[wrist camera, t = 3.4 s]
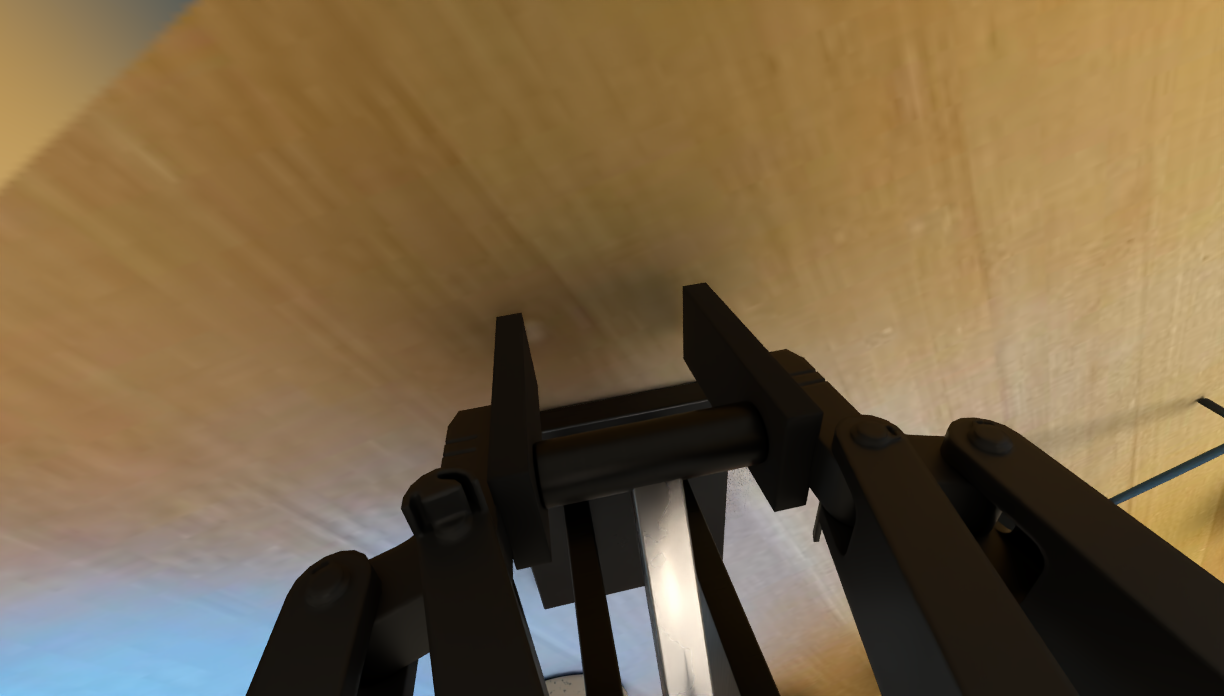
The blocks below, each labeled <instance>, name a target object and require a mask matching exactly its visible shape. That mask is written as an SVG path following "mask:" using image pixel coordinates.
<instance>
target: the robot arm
mask: <svg viewBox="0 0 1224 696" xmlns="http://www.w3.org/2000/svg"><path fill="white" fill-rule="evenodd" d="M683 359H684V360H685V362H686V364H687V365H688V367H689V369H690V370H691V372H692V374H693V376H694V377H695V379H696V381H697V382H698V384H699V386H700V387H701V389H702V391H703V392H704V394H705V396H706V397H707V399H708V401H709V403H710V404H711V406H712V407H716V406H721V405H726V404H731V403H736V402H741V401H748V402H751V403H752V404H753V405H754V406H755V407H756V408H757V410H758V411H759V413H760V415H761V417H762V420H763V422H764V425H765V428H766V432H767V438H768V456H767V459H766V460H765V461H764V462H763V463H761V464H757V465H752V466H747V467H748V468H749V470H750V472H751V473H752V475H753V477H754V478H755V480H756V482H757V484H758V485H759V487H760V489H761V490H762V492H763V494H764V495H765V497H766V499H767V500H768V502H769V504H770V505H771V507H772V509H773V511H774V512H777V511H781V510H786V509H790V508H795V507H799V506H803V505H806V501H807V496H808V491H809V487H810V488H811V490H812V491H813V493H814V494H815V495H816V497H817V498H818V500H819V501H820V502H819V506H818V511H817V516H816V520H815V525H814V530H813V540H814V542H819V539H820V535H821V530H822V531H823V534H824V536H825V539H826V542H827V545H828V547H829V550H830V553H831V556H832V559H833V561H834V564H835V567H836V570H837V573H838V575H839V578H840V581H841V584H842V586H843V589H844V592H845V595H846V598H847V600H848V603H849V606H850V609H851V611H852V614H853V617H854V620H855V623H856V625H857V628H858V631H859V634H860V636H861V639H862V642H863V645H864V648H865V650H866V653H867V656H868V659H869V661H870V664H871V667H872V670H873V673H874V675H875V678H876V681H877V684H878V687H879V689H880V692H881V695H882V696H1224V583H1222V582H1221V581H1220V580H1218V579H1217V578H1215V577H1214V576H1213V575H1211V574H1210V573H1209V572H1207V571H1206V570H1205V569H1203V568H1202V567H1200V566H1199V565H1198V564H1196V563H1195V562H1194V561H1192V560H1191V559H1189V558H1188V557H1187V556H1185V555H1184V554H1183V553H1181V552H1180V551H1179V550H1177V549H1176V548H1174V547H1173V546H1172V545H1170V544H1169V543H1168V542H1166V541H1165V540H1164V539H1162V538H1161V537H1159V536H1158V535H1157V534H1155V533H1154V532H1153V531H1151V530H1150V529H1149V528H1147V527H1146V526H1144V525H1143V524H1142V523H1140V522H1139V521H1138V520H1136V519H1135V518H1134V517H1132V516H1131V515H1129V514H1128V513H1127V512H1125V511H1124V510H1123V509H1121V508H1120V507H1119V506H1117V505H1116V504H1114V503H1113V502H1112V501H1110V500H1109V499H1108V498H1106V497H1105V496H1104V495H1102V494H1101V493H1099V492H1098V491H1097V490H1095V489H1094V488H1093V487H1091V486H1090V485H1089V484H1087V483H1086V482H1084V481H1083V480H1082V479H1080V478H1079V477H1078V476H1076V475H1075V474H1074V473H1072V472H1071V471H1069V470H1068V469H1067V468H1065V467H1064V466H1063V465H1061V464H1060V463H1059V462H1057V461H1056V460H1054V459H1053V458H1052V457H1050V456H1049V455H1048V454H1046V453H1045V452H1044V451H1042V450H1041V449H1039V448H1038V447H1037V446H1035V445H1034V444H1033V443H1031V442H1030V441H1029V440H1027V439H1026V438H1024V437H1023V436H1022V435H1020V434H1019V433H1017V432H1015V431H1014V430H1012V429H1010V428H1009V427H1007V426H1005V425H1002V424H999V423H997V422H994V421H991V420H986V419H980V418H960V419H958V420H956V421H953V422H952V423H951V424H950V426H949V428H948V430H947V432H946V435H945V436H923V435H907V434H904V433H903V432H902V431H901V430H900V429H899V428H898V427H897V426H896V425H894V424H892V423H890V422H889V421H887V420H885V419H882V418H879V417H875V416H872V415H862V414H860V413H859V412H858V411H857V410H856V409H855V408H854V407H853V406H852V405H851V404H850V403H849V402H848V401H847V400H846V399H845V398H844V397H843V396H842V395H841V394H840V393H839V392H838V391H837V390H836V389H835V388H834V387H833V386H832V385H831V384H830V383H829V382H828V381H825V379H824V378H823V377H822V376H821V375H820V374H819V373H818V372H816V371H815V369H814V368H813V367H812V366H811V365H810V364H809V363H808V362H807V361H806V360H805V359H804V358H803V357H801V356H799V355H797V354H795V353H793V352H791V351H789V350H787V349H784V350H779V351H773V352H769V351H768V350H767V349H766V348H765V347H764V346H763V345H762V344H761V343H760V342H759V340H758V339H757V338H756V337H755V336H754V335H753V334H752V333H751V332H750V331H749V329H748V328H747V327H746V326H745V325H744V324H743V323H742V322H741V321H740V320H739V318H738V317H737V316H736V315H735V314H734V313H733V312H732V311H731V310H730V309H729V307H728V306H727V305H726V304H725V303H724V302H723V301H722V300H721V299H720V298H719V296H718V295H717V294H716V293H715V292H714V291H713V290H712V289H711V288H710V287H709V285H708V284H707V283H706V282H705V283H699V284H693V285H687V286H683ZM537 441H542V432H541V420H540V408H539V396H538V385H537V380H536V376H535V371H534V367H533V362H532V358H531V353H530V348H529V344H528V339H527V335H526V330H525V326H524V321H523V317H522V313H517V314H511V315H505V316H499V317H496V332H495V349H494V366H493V383H492V399H491V405H489V406H484V407H478V408H473V409H467V410H462V411H459V412H458V413H457V414H456V416H455V417H454V419H453V420H452V421H451V423H450V424H449V426H448V430H447V435H446V441H445V442H446V445H445V446H444V452H443V458H442V463H441V468H437V469H435V470H433V471H431V472H429V473H427V474H425V475H423V476H421V477H420V478H419V479H418V480H417V481H416V482H414V483H413V484H412V485H411V486H410V487H409V489H408V491H407V492H406V494H405V495H404V497H403V501H402V506H401V510H402V512H403V514H404V516H405V518H406V520H407V522H408V524H409V526H410V528H411V530H412V532H413V534H414V535H413V536H412V537H411V538H410V539H408V540H407V541H405V542H403V543H402V544H400V545H398V546H396V547H394V548H392V549H390V550H388V551H386V552H384V553H382V554H380V555H378V556H376V557H374V558H372V559H369V560H368V558H367V557H366V555H365V554H363V553H360V552H358V551H355V550H349V551H339V552H337V553H334V554H331V555H329V556H326V557H324V558H322V559H321V560H319V561H318V562H316V563H315V564H313V565H312V566H310V567H309V568H308V569H307V570H306V571H305V572H304V573H303V574H302V575H301V576H300V577H299V578H298V579H297V580H296V581H295V583H294V584H293V586H292V588H291V589H290V591H289V593H288V594H287V596H286V599H285V601H284V604H283V606H282V609H281V611H280V613H279V616H278V618H277V621H276V623H275V626H274V628H273V630H272V633H271V635H270V638H269V640H268V643H267V645H266V647H265V650H264V652H263V655H262V657H261V660H260V662H259V665H258V667H257V669H256V672H255V674H254V677H253V679H252V682H251V684H250V686H249V689H248V691H247V694H246V696H413V692H414V685H415V678H416V671H417V664H418V659H419V658H421V657H422V656H424V655H426V654H427V653H429V652H430V659H431V667H432V676H433V684H434V693H435V696H549V693H548V690H547V686H546V683H545V680H544V676H543V673H542V670H541V667H540V663H539V660H538V657H537V654H536V650H535V647H534V644H533V641H532V637H531V634H530V631H529V628H528V624H527V621H526V618H525V615H524V611H523V608H522V605H521V601H520V598H519V595H518V592H517V589H516V586H515V583H514V580H513V560H514V563H515V566H516V569H517V570H519V569H523V568H528V567H532V566H537V565H541V564H545V563H550V562H552V552H551V540H550V528H549V516H548V509H546V508H544V507H543V506H542V504H541V501H540V497H539V493H538V488H537V482H536V476H535V469H534V461H533V445H534V443H536V442H537ZM1001 513H1003V514H1005V515H1006V516H1007V517H1008V518H1009V519H1010V520H1011V521H1012V522H1013V523H1014V524H1015V525H1016V526H1015V528H1014V529H1013V530H1010V529H1008V528H1006V527H1005V526H1004V525H1002V524H1001V523H1000V522H999V521H998V518H999V516H1000V515H1001Z"/></svg>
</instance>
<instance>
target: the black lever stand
mask: <svg viewBox="0 0 1224 696" xmlns="http://www.w3.org/2000/svg"><path fill="white" fill-rule="evenodd" d="M711 407H712V406H711V404H710V403H709V401H708V399H707V397H706V396H705V394H704V392H703V391H702V389H701V387H700V386H699V384H698V382H695V383H690V384H685V385H679V386H674V387H669V388H664V389H658V390H653V391H648V392H642V393H637V394H632V395H627V396H621V397H616V398H611V399H605V400H600V401H595V402H590V403H584V404H579V405H574V406H568V407H563V408H558V409H553V410H547V411H542V412H540V420H541V432H542V440H547V439H553V438H558V437H563V436H568V435H573V434H578V433H583V432H588V431H593V430H598V429H604V428H609V427H614V426H619V425H624V424H629V423H634V422H639V421H644V420H649V419H655V418H660V417H665V416H670V415H675V414H680V413H685V412H690V411H695V410H701V409H706V408H711ZM727 475H728V471H724V472H719V473H714V474H710V475H705V476H700V477H695V478H691V479H686V480H682V481H683V488H684V494H685V501H686V508H687V514H688V521H689V528H690V534H691V541H692V548H693V555H694V561H695V568H696V575H697V581H698V588H699V595H700V601H701V608H702V615H703V621H704V628H705V635H706V641H707V648H708V655H709V661H710V668H711V675H712V681H713V688H714V695H715V696H780V694H779V691H778V689H777V687H776V684H775V682H774V680H773V677H772V675H771V673H770V670H769V668H768V666H767V663H766V661H765V659H764V656H763V654H762V652H761V649H760V647H759V645H758V642H757V640H756V638H755V635H754V633H753V631H752V628H751V626H750V624H749V621H748V619H747V617H746V614H745V612H744V610H743V607H742V605H741V603H740V600H739V598H738V596H737V593H736V591H735V589H734V586H733V584H732V582H731V579H730V577H729V575H728V572H727V570H726V568H725V565H724V563H723V545H724V527H725V510H726V492H727ZM548 516H549V528H550V540H551V552H552V562H550V563H545V564H541V565H537V566H532V567H531V568H532V571H533V574H534V577H535V581H536V584H537V587H538V590H539V594H540V597H541V600H542V603H543V607H544V609H549V608H553V607H557V606H561V605H566V604H570V603H574V602H575V609H576V617H577V625H578V634H579V642H580V651H581V659H582V667H583V676H584V684H585V693H586V696H624V695H623V689H622V683H621V678H620V672H619V667H618V661H617V655H616V650H615V644H614V639H613V633H612V628H611V622H610V616H609V611H608V605H607V600H606V595H608V594H612V593H617V592H621V591H625V590H629V589H634V588H638V587H642V586H645V584H644V578H643V572H642V566H641V560H640V554H639V548H638V542H637V536H636V530H635V524H634V518H633V512H632V506H631V500H630V494H629V492H625V493H620V494H615V495H611V496H606V497H601V498H596V499H592V500H587V501H582V502H578V503H573V504H568V505H563V506H559V507H554V508H549V509H548Z"/></svg>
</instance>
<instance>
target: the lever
mask: <svg viewBox="0 0 1224 696" xmlns="http://www.w3.org/2000/svg"><path fill="white" fill-rule="evenodd" d="M767 456H768V438H767V432H766V428H765V425H764V422H763V420H762V417H761V415H760V413H759V411H758V410H757V408H756V407H755V406H754V405H753V404H752V403H751V402H748V401H741V402H736V403H731V404H726V405H721V406H716V407H711V408H706V409H701V410H695V411H690V412H685V413H680V414H675V415H670V416H665V417H660V418H655V419H649V420H644V421H639V422H634V423H629V424H624V425H619V426H614V427H609V428H604V429H598V430H593V431H588V432H583V433H578V434H573V435H568V436H563V437H558V438H553V439H547V440H542V441H537V442H536V443H534V445H533V461H534V469H535V476H536V482H537V488H538V493H539V497H540V501H541V504H542V506H543V507H544V508H546V509H549V508H554V507H559V506H563V505H568V504H573V503H578V502H582V501H587V500H592V499H596V498H601V497H606V496H611V495H615V494H620V493H625V492H629V494H630V500H631V506H632V512H633V518H634V524H635V530H636V536H637V542H638V548H639V554H640V560H641V566H642V572H643V578H644V584H645V590H646V596H647V603H648V609H649V615H650V621H651V627H652V633H653V639H654V645H655V651H656V657H657V663H658V669H659V675H660V681H661V687H662V693H663V696H715V695H714V688H713V681H712V675H711V668H710V661H709V655H708V648H707V641H706V635H705V628H704V621H703V615H702V608H701V601H700V595H699V588H698V581H697V575H696V568H695V561H694V555H693V548H692V541H691V534H690V528H689V521H688V514H687V508H686V501H685V494H684V488H683V481H682V480H686V479H691V478H695V477H700V476H705V475H710V474H714V473H719V472H724V471H728V470H733V469H738V468H743V467H747V466H752V465H757V464H761V463H763V462H764V461H765V460H766V459H767Z"/></svg>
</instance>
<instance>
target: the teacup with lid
mask: <svg viewBox="0 0 1224 696" xmlns="http://www.w3.org/2000/svg"><path fill="white" fill-rule="evenodd" d="M545 683H546V686H547V690H548V693H549V696H586V693H585V684H584V676H583V675H569V676H563V677H557V678H553V679H549V680H546V681H545ZM622 689H623V695H624V696H628V694H627V692H626V690H625V689H624V688H623V686H622Z"/></svg>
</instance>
